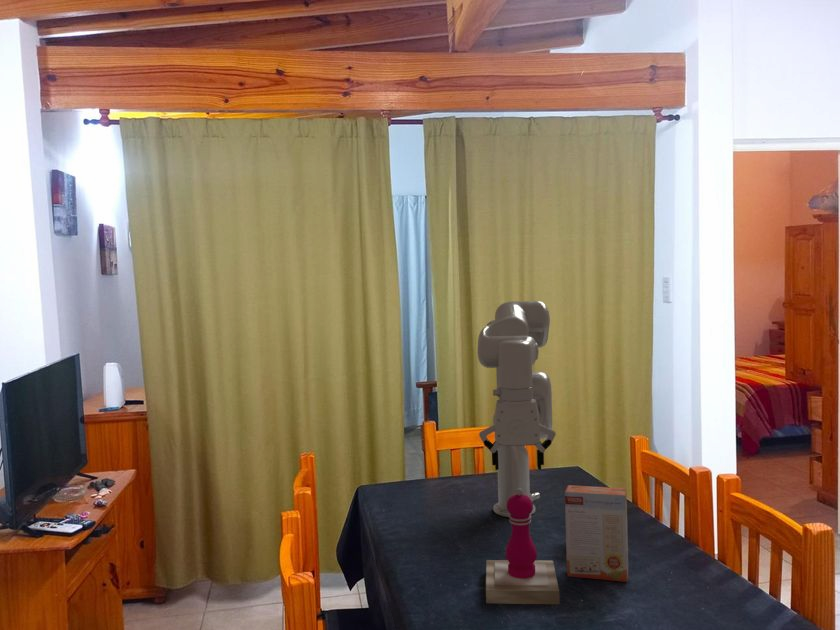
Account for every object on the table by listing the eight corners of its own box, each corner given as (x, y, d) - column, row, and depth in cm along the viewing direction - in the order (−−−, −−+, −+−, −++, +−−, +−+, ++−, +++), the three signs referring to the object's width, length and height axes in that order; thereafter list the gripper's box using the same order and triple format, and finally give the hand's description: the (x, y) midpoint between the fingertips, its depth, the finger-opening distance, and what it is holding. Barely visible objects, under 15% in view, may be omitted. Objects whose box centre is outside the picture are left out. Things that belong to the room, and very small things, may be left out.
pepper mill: (536, 580, 161) (534, 493, 160) (504, 578, 163) (502, 492, 161) (538, 566, 168) (535, 483, 167) (507, 565, 170) (504, 483, 168)
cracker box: (628, 572, 171) (627, 487, 170) (627, 583, 166) (626, 495, 164) (569, 566, 176) (567, 483, 174) (566, 576, 170) (564, 491, 169)
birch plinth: (486, 572, 174) (486, 558, 174) (553, 572, 173) (552, 558, 172) (486, 603, 158) (485, 588, 158) (559, 604, 157) (559, 589, 156)
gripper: (477, 398, 159) (479, 473, 161) (556, 397, 158) (557, 472, 159) (478, 392, 167) (480, 463, 168) (553, 390, 165) (554, 463, 166)
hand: (518, 468), depth 164 cm, fingers open, 9 cm apart
